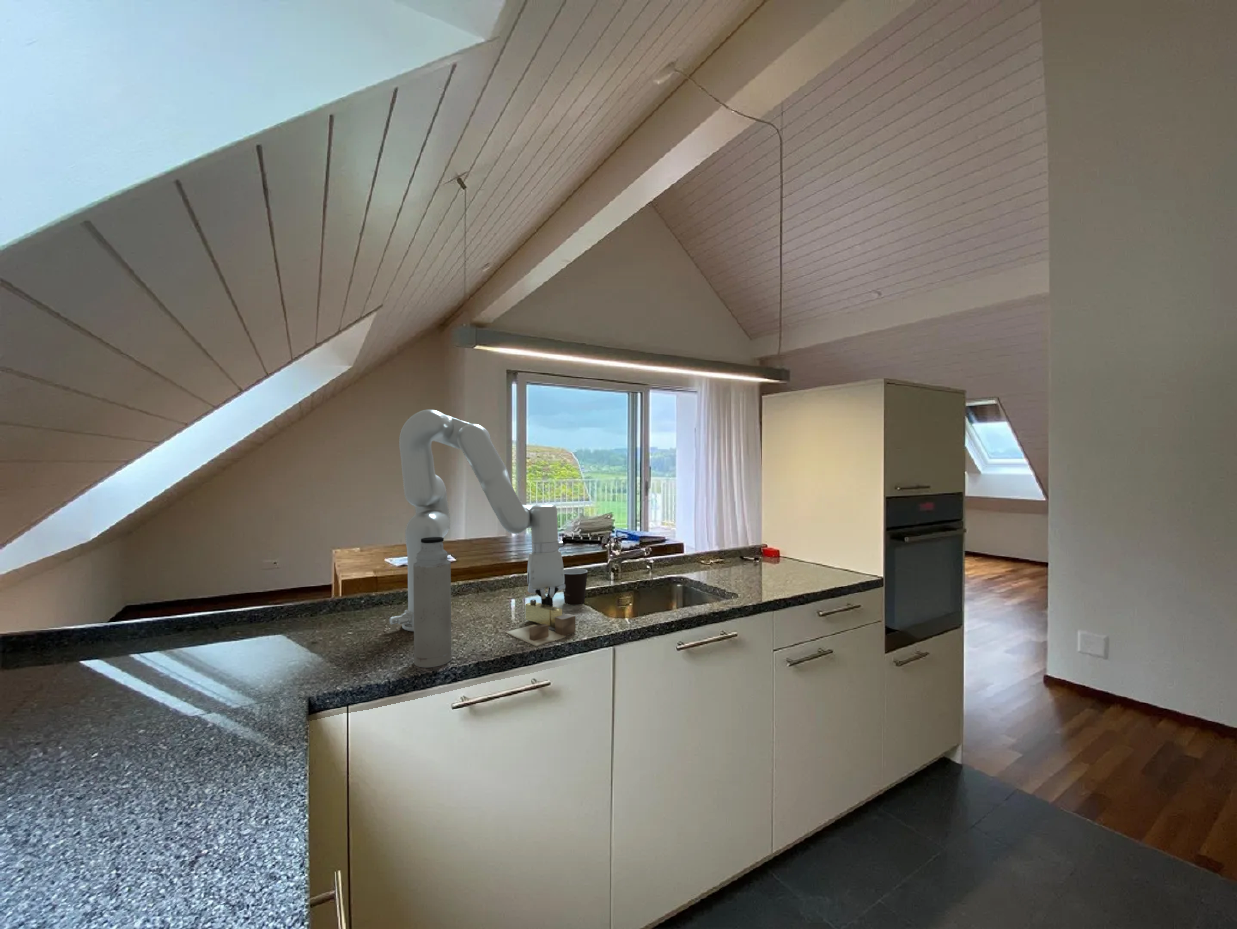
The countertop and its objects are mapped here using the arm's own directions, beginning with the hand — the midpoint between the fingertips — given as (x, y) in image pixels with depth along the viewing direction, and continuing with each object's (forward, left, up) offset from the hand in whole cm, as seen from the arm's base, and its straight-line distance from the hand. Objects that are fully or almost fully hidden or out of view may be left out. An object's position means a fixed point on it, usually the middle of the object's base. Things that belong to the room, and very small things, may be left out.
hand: (547, 611), depth 146 cm
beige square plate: (-8, -9, -2) cm, 12 cm away
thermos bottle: (-37, -7, -3) cm, 38 cm away
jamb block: (-4, -13, -2) cm, 14 cm away
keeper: (-11, -12, -2) cm, 17 cm away
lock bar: (-3, -3, -2) cm, 5 cm away
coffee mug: (+18, +10, -3) cm, 21 cm away
